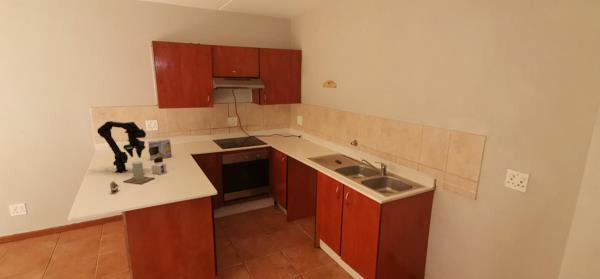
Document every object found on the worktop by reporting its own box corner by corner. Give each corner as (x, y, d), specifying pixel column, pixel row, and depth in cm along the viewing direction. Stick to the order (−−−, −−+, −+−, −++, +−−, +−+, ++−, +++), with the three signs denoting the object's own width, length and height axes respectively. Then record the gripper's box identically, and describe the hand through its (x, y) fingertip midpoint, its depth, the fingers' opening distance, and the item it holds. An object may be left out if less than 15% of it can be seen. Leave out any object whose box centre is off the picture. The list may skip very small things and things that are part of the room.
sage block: (134, 179, 218) (132, 162, 215) (141, 177, 221) (139, 161, 219) (137, 181, 215) (135, 164, 212) (144, 179, 218) (142, 162, 216)
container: (167, 171, 238) (165, 156, 236) (160, 174, 231) (158, 158, 228) (159, 171, 240) (157, 155, 238) (152, 173, 233) (150, 158, 230)
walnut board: (123, 182, 214) (123, 181, 214) (137, 176, 226) (137, 175, 226) (141, 184, 210) (141, 183, 210) (154, 178, 222) (154, 177, 222)
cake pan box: (150, 160, 268) (148, 142, 265) (148, 159, 272) (146, 141, 269) (172, 157, 280) (170, 139, 277) (170, 156, 284) (169, 138, 280)
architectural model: (120, 190, 200) (119, 180, 199) (116, 194, 194) (114, 183, 192) (115, 190, 200) (113, 180, 198) (110, 194, 193) (108, 184, 192)
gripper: (149, 136, 233) (153, 155, 236) (134, 135, 241) (137, 154, 244) (136, 139, 223) (140, 159, 226) (121, 138, 231) (125, 157, 234)
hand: (136, 157), depth 233 cm, fingers open, 9 cm apart
